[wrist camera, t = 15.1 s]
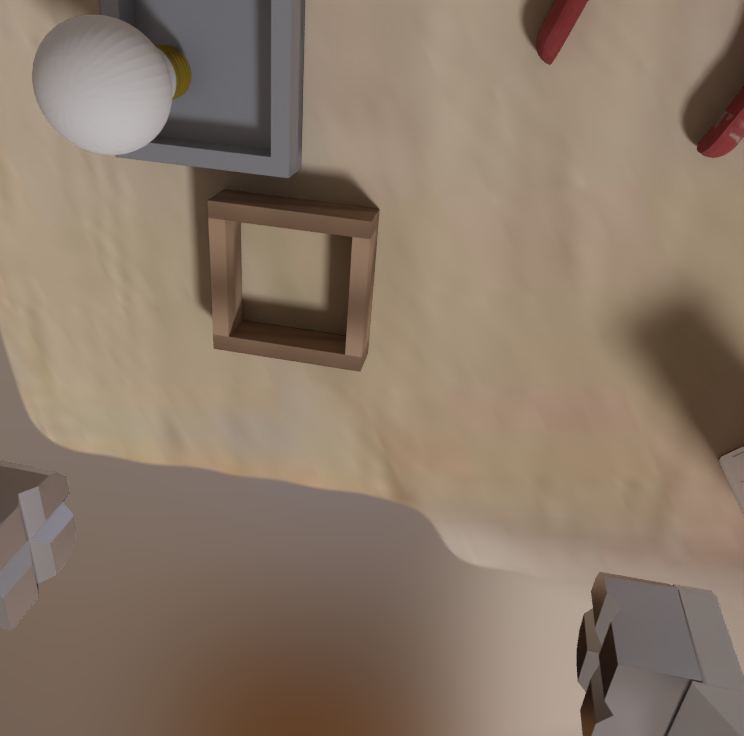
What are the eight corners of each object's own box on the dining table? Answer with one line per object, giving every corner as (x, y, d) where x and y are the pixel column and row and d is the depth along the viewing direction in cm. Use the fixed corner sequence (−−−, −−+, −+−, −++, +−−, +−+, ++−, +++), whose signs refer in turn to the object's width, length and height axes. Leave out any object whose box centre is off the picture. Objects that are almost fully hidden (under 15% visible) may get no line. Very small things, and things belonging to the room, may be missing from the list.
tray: (119, -49, 36) (93, -52, 34) (305, -34, 35) (291, -36, 32) (137, 148, 41) (116, 156, 39) (301, 168, 39) (288, 178, 37)
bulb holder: (223, 189, 41) (207, 200, 39) (379, 209, 40) (371, 221, 38) (228, 331, 45) (213, 348, 43) (367, 353, 44) (360, 371, 42)
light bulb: (121, 1, 36) (-10, 7, 28) (227, 17, 35) (126, 29, 27) (128, 117, 39) (12, 155, 31) (226, 135, 38) (134, 179, 30)
